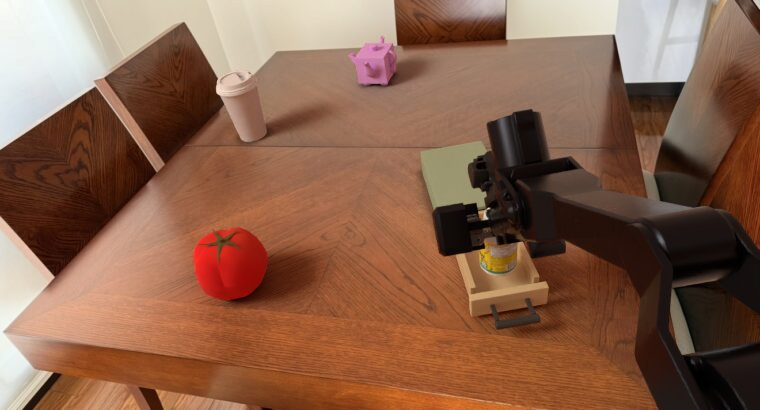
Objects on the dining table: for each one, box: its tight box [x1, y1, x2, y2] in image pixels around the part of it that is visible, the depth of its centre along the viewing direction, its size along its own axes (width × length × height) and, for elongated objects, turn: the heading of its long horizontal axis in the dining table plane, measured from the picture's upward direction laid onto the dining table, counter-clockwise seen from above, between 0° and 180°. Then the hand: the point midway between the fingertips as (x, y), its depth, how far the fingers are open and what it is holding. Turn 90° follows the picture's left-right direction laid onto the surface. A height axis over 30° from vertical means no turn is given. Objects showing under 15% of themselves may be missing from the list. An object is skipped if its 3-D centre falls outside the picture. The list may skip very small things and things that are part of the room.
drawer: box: [455, 210, 550, 331], centre depth 76 cm, size 22×11×4 cm, turn 6°
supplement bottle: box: [479, 208, 518, 277], centre depth 71 cm, size 5×5×10 cm
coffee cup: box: [215, 69, 268, 143], centre depth 118 cm, size 10×10×15 cm
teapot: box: [347, 35, 398, 87], centre depth 134 cm, size 18×13×10 cm
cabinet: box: [419, 140, 488, 211], centre depth 92 cm, size 19×12×5 cm, turn 6°
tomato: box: [192, 226, 269, 301], centre depth 80 cm, size 12×12×11 cm
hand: (495, 224), depth 71 cm, fingers closed on supplement bottle, 5 cm apart
